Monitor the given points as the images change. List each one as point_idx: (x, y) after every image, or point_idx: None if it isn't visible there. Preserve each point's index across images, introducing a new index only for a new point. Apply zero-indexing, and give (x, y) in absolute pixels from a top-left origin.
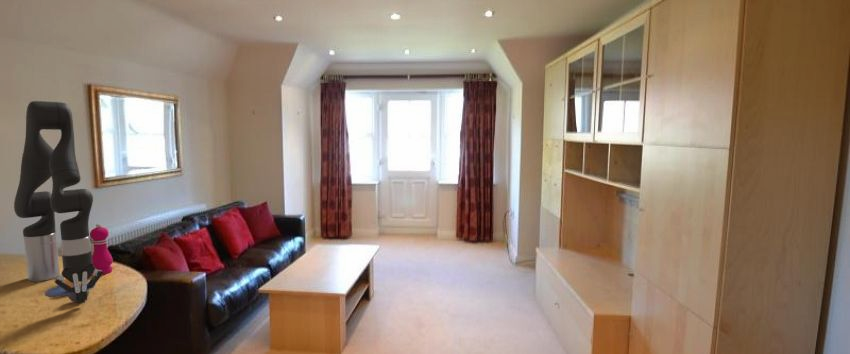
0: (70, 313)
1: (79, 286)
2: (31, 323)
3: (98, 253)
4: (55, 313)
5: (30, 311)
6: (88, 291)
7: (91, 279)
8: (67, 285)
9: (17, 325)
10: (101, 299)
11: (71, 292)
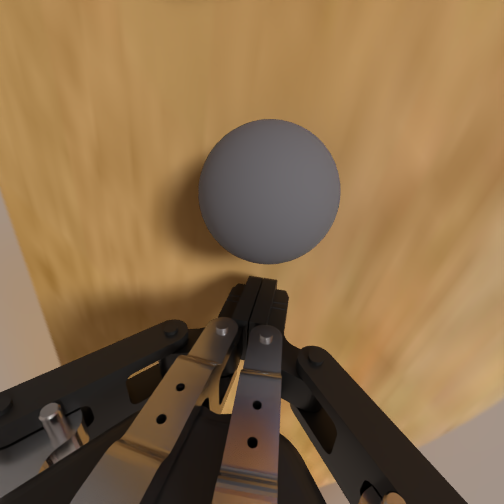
0: (212, 314)
1: (263, 236)
2: (92, 297)
3: None
4: (162, 265)
5: (57, 136)
6: (328, 230)
7: (333, 420)
8: (140, 367)
9: (53, 277)
10: (379, 250)
11: (210, 231)
